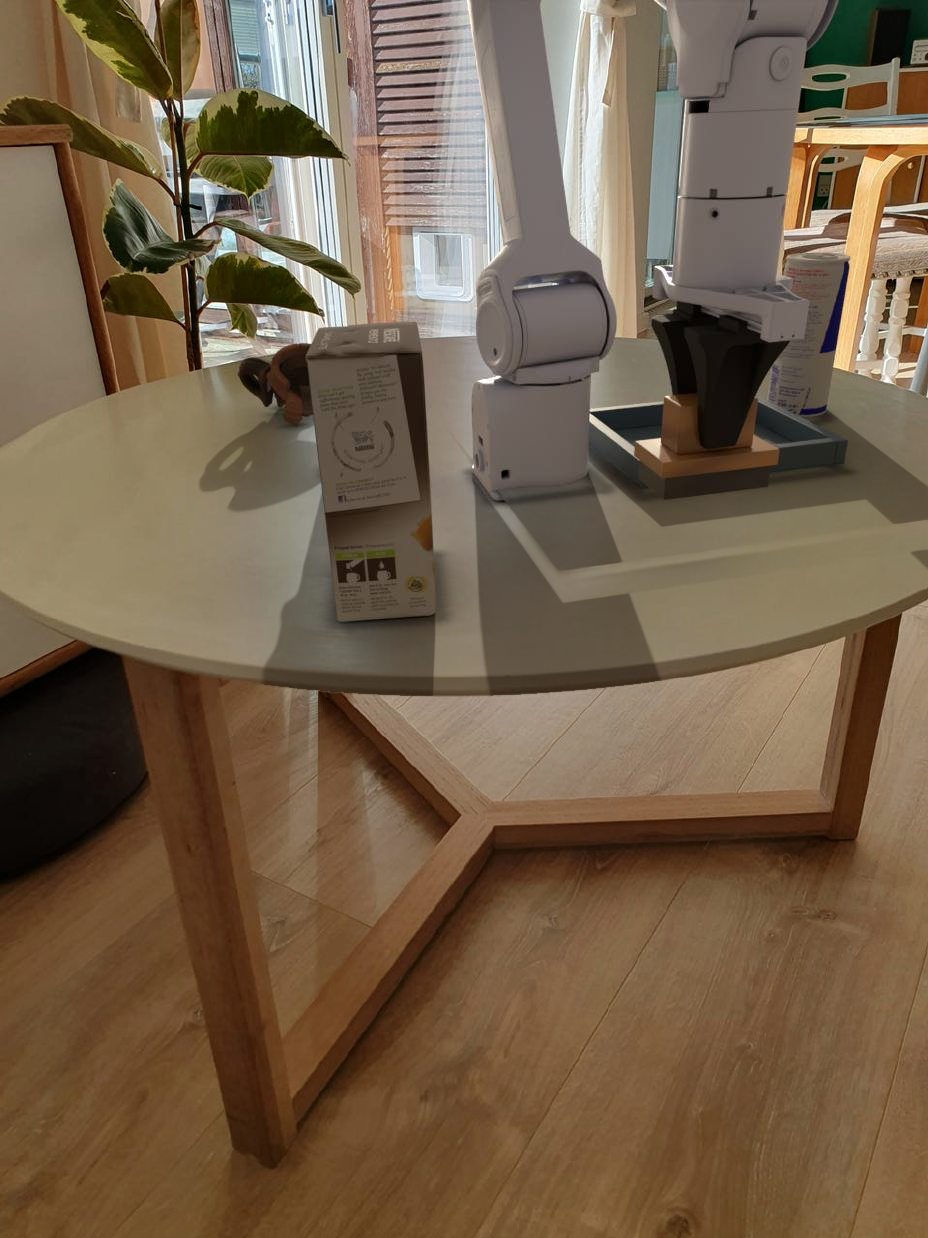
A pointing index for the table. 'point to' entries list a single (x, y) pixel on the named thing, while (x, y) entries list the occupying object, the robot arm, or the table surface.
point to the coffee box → (374, 468)
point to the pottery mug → (281, 381)
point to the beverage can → (811, 334)
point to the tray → (773, 424)
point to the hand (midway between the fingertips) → (706, 438)
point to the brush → (701, 455)
